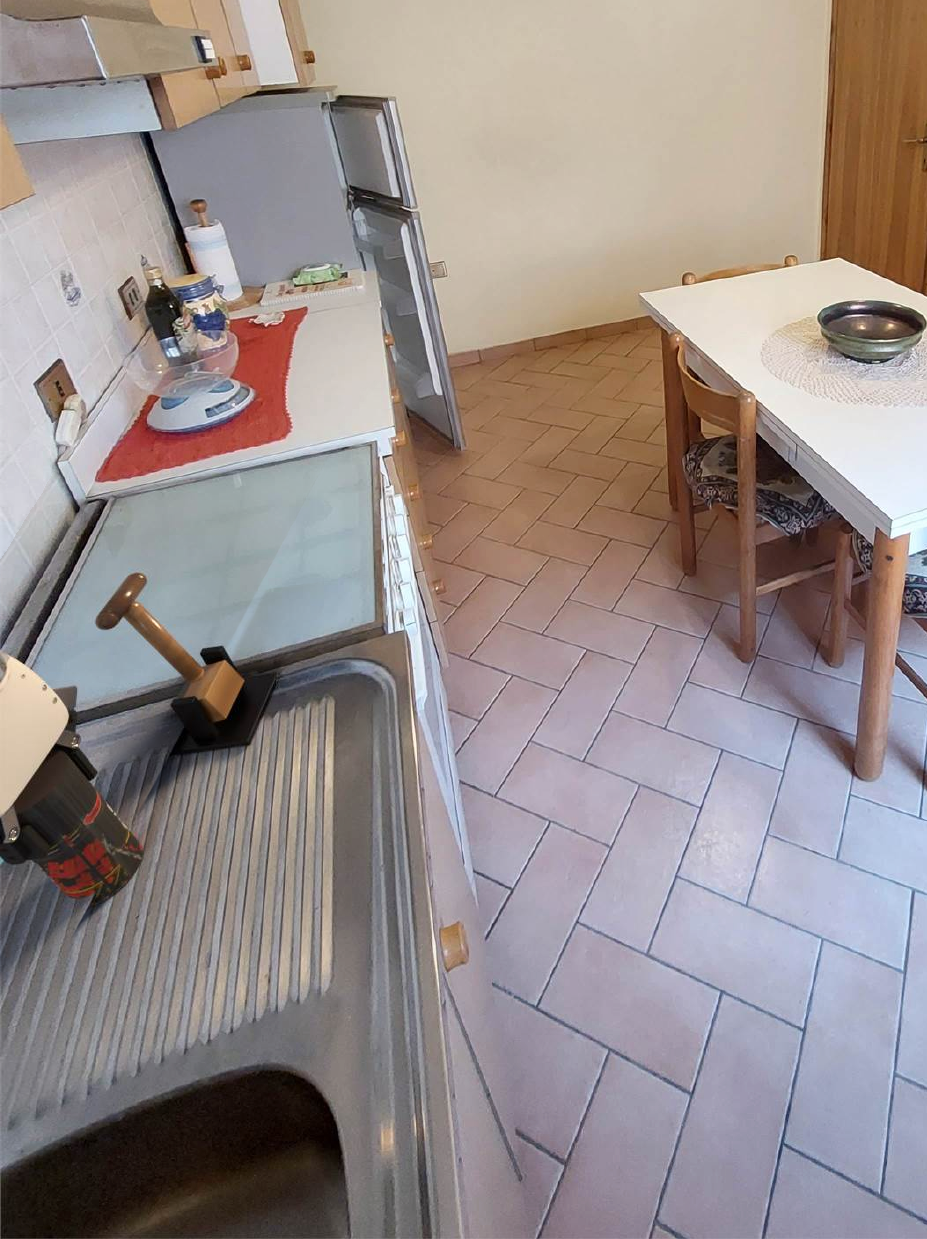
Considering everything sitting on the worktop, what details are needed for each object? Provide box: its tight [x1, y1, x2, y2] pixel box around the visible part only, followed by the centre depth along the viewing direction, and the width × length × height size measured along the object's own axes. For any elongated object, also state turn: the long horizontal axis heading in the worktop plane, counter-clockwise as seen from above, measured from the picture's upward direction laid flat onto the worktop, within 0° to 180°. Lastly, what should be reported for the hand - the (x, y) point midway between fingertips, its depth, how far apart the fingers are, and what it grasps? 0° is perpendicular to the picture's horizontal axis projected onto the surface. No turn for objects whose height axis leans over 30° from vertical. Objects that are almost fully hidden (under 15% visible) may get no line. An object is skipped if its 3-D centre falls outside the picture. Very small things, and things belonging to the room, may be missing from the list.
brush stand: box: [168, 645, 280, 758], centre depth 81 cm, size 10×9×7 cm
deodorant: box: [14, 750, 144, 908], centre depth 65 cm, size 6×6×15 cm
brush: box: [94, 572, 244, 722], centre depth 77 cm, size 19×7×4 cm
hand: (56, 815), depth 64 cm, fingers closed on deodorant, 6 cm apart
